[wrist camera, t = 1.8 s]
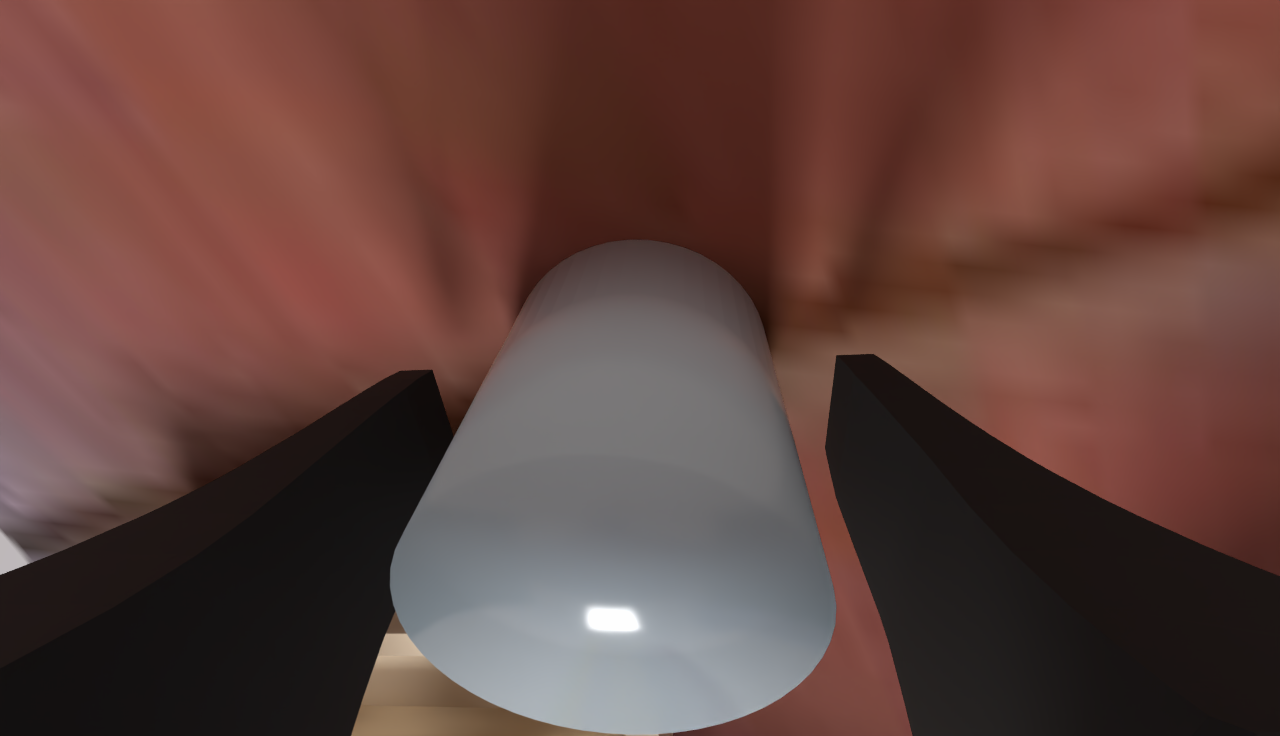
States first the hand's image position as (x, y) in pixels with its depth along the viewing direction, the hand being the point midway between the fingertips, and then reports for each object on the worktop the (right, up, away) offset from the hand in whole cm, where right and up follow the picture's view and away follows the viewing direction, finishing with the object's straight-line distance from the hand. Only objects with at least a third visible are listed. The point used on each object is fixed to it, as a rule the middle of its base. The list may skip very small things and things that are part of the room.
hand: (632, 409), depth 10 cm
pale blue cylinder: (0, +1, +1) cm, 2 cm away
